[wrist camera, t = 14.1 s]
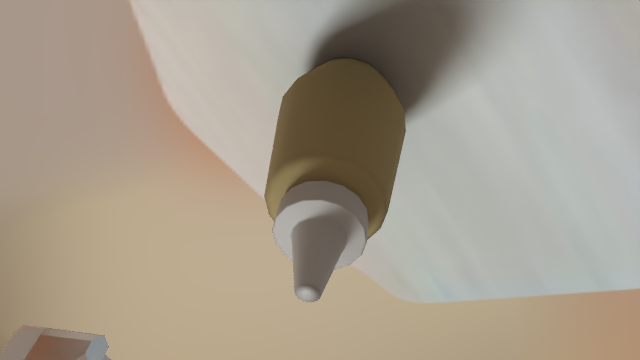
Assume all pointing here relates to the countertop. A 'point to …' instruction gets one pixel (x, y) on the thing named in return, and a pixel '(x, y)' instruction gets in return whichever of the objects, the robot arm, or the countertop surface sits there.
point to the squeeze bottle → (332, 168)
